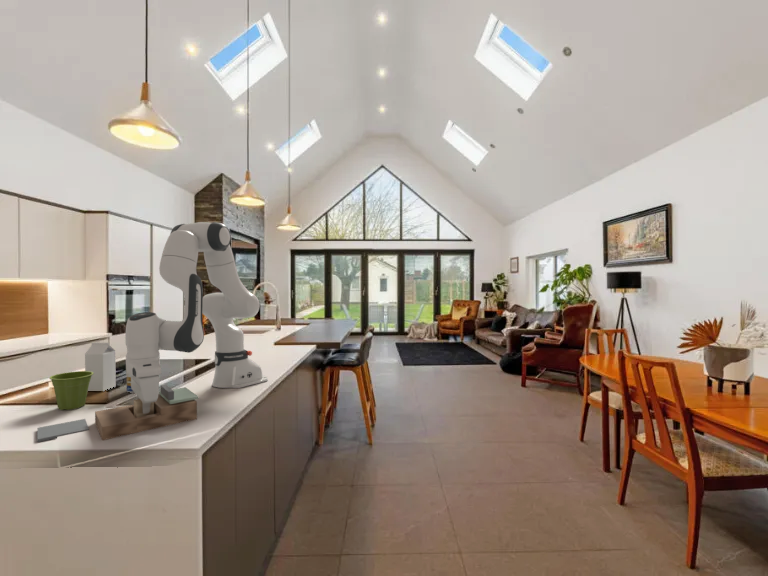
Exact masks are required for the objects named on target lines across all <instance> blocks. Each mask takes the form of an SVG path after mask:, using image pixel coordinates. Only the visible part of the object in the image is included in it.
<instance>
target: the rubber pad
mask: <svg viewBox="0 0 768 576" xmlns="http://www.w3.org/2000/svg"><path fill="white" fill-rule="evenodd" d="M89 430H90V428H89V426H88V422H87V420H86V418H82V419H77V420H72V421H67V422H62V423H61V422H59V423H56V424H51V425H46V426H41V427H40V426H39V427H37V443H40V442H46V441H50V440H49V439H51V440H55V439H54V438H56V439H58V437H63V436H66V435H67V436H68V435H73V434H77V433H81V432H86V431H89ZM45 440H46V441H45Z"/></svg>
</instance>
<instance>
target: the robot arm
mask: <svg viewBox="0 0 768 576" xmlns="http://www.w3.org/2000/svg"><path fill="white" fill-rule="evenodd" d="M231 240H232V236H231V232H230V229H229V228H228V227H227V226H226V225H225V224H224V223H221V222H216V221H214V222H209V221H207V222H205V221H198V222H192V223H181V224H178V225H175V226H174V227H173V228H172V229H171V231H170V234H169V236H168V237H167V240H166V242H165V244H164V246H163V251H162V254H161V257H160V260H159V261H160V262H159V268H158V269H159V274H160V277H161V278H162V280H164V281H165V282H166V283H167V284H169V285H171V286H173V287H175V288H177V289H179V290H180V291H182V293H183V295H184V305H183V307H184V312H183V313H184V314H183V315H184V316H183V319H181V320H180V321H179V320H177V321H176V320H166V319H163V318H161V317H159V316H158V315H157V313H155V312H152V311H145V312H139V313H134V314H132V315H130V316H128V319H127V321H126V325H125V337H124V338H125V340H124V341H125V342H124V343H125V346H126V350H127V351H126V355H125V374H126V373H127V374H131V389H132V390H133V391H134V393H133V394H135V395H136V400H137V399H140V400H141V401H142V412H143V413H144V414H146V413H149V412H150V404H151V402H155V401H157V399H158V394H159V392H160V390H159V389H160V375H162V367H161V359H160V356H161V355H160V351H174V352H176V351H177V352H180V353H181V352H182V353H193V352H194V351H197V349H198V348H200V346H201V345H202V344H203V341H204V339H205V332H204V325H203V316H205V317H206V318H207V319H208V320H209V322H210V324H211V325H212V327H213V330H214V335H215V351H214V365H215V369H214V376H213V379H212V384H211V386H212V387H214V388H219V389H222V388H223V389H226V388H227V389H229V388H233V389H239V388H240V389H241V388H244V387H248V386H253V385H256V384H260V383H264V382H267V381H268V376H266V375H264V374H263V370H262V367H261V366H260V364H258V363H257V362H256V361H253V360H252V359H251V358H249V357H250V356H252V355H253V351H251V350H246V349H245V335H244V332H243V330H242V329H241V328H240V327H238V326H237V325H236V324H235V322H234V319H240V320H241V319H249V318H253V317H255V316H256V315H257V314H258V312H259V311H260V308H261V306H260V300H259V299H258V297H257V296H256V295H255V294H254V293H252V292H250V291H249V290H248V289H247V287H246V286H245V285H244V283H243V282H242V280H241V278H240V276H239V273H238V269H237V265H236V260H235V256H234V253H233V250H232V247H231V245H230V244H231ZM199 253H203V257H204V262H205V268H206V272H207V275H208V276H207V277H208V279H209V282H210V284H211V285H213V286H214V287H216V288H218V289H219V291H221V292H213V293H208V294H205V295H204V296H203V294H204V292H203V289H204V288H203V287H204V286H203V280H202V278H201V277H200V276H199V275H198V274H197V266H198V259H199Z"/></svg>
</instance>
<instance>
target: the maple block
mask: <svg viewBox="0 0 768 576" xmlns="http://www.w3.org/2000/svg"><path fill="white" fill-rule="evenodd" d="M133 405H134V417H135V418H137V417H142V416H147V415H152V414H154V402H151V404H150V412H149V413H146V414H144V413H143V412H142V401H141V400H140V399H137V398H136V399H133Z"/></svg>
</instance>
